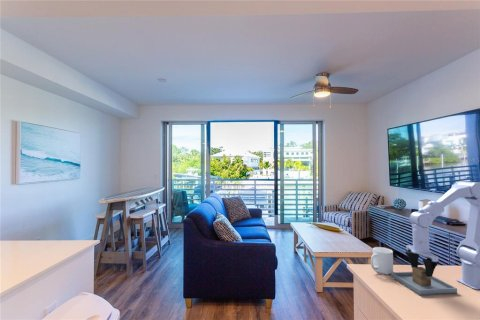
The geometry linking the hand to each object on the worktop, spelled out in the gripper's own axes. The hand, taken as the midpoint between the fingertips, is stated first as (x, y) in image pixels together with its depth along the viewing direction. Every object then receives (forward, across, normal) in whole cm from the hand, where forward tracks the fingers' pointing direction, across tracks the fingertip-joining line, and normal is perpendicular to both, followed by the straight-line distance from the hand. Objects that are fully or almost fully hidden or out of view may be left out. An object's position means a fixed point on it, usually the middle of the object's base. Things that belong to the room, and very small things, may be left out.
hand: (421, 272), depth 104 cm
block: (+5, 0, 0) cm, 5 cm away
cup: (+6, -14, -9) cm, 18 cm away
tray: (+5, 0, 0) cm, 5 cm away
